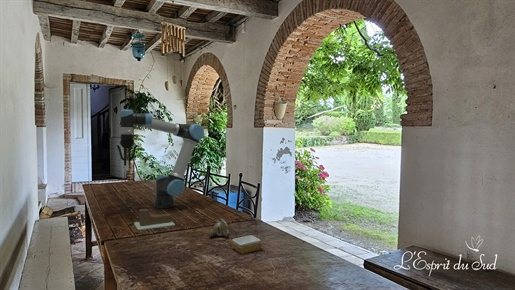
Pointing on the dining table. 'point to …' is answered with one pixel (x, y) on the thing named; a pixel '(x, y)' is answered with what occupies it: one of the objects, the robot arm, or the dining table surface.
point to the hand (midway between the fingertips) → (127, 170)
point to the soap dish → (246, 244)
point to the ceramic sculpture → (219, 229)
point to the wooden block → (152, 218)
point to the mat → (153, 225)
